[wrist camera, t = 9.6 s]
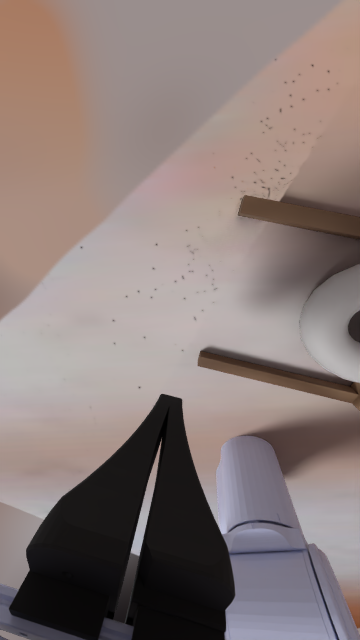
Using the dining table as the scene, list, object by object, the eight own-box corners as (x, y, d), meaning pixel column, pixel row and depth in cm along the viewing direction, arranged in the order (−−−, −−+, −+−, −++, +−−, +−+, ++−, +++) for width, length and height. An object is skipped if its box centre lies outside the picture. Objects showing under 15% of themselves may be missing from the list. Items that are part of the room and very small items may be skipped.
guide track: (358, 398, 20) (378, 417, 18) (198, 359, 21) (197, 373, 19) (471, 243, 14) (523, 242, 12) (242, 199, 15) (248, 189, 13)
